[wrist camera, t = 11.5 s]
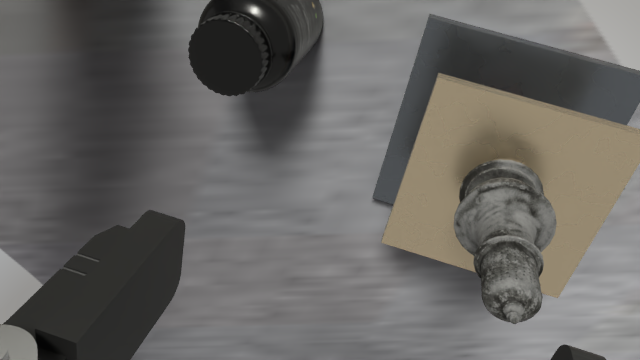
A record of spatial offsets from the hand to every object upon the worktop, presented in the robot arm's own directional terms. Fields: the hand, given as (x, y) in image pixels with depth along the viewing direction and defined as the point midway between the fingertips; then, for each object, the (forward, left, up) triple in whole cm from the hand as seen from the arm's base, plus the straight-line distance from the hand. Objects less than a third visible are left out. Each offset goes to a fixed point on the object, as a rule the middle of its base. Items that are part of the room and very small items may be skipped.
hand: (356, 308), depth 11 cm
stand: (+8, -9, -33) cm, 35 cm away
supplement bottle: (-11, -4, -33) cm, 35 cm away
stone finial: (+8, -9, -24) cm, 27 cm away
